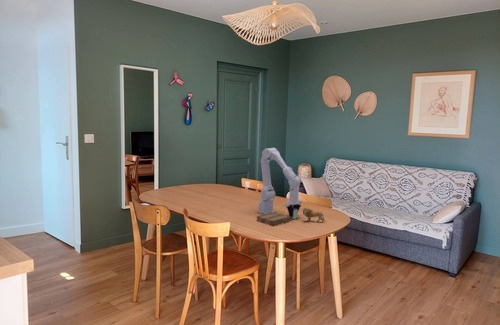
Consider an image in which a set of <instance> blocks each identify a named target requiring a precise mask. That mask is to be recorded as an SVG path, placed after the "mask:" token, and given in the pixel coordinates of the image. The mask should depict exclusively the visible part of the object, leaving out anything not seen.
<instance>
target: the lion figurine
mask: <svg viewBox="0 0 500 325" xmlns="http://www.w3.org/2000/svg"><path fill="white" fill-rule="evenodd" d="M302 214H303V215H304V216H305V217H306V218H307V222H308V223H311V221H312V220H311V219H312V218H317V217H318V220H316V222H320V221H321V222H320V223H321V224H324V222H326V220H325V219H324V214H323V212H322V211H313V210H312V209H310V208H309V207H304V208H303V209H302Z"/></svg>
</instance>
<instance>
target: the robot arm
mask: <svg viewBox="0 0 500 325" xmlns="http://www.w3.org/2000/svg"><path fill="white" fill-rule="evenodd" d="M272 160H273V161H275V162H276V163H277V164H278V166H280V168H281V169H282V173H283V175H284V177H285V178H286V179H287V180H288V185H289V200H288V201H287V202H285V203H284V206H285V207H286V209H287V212H288V216H290V217H292V216H293V211H294V208H295V209H298V212H299V210H300V208H301V207H302V204H303V201H302V200H300V199H299V195H300V194H299V192H300V184H301V182H302V179H301V178H300V176H297V175H296V173H295V172H294V171H293V168H292V167H291V166H288V165H287V164H286V162H285V161H284V158H282V156H281V154H280V151H279V150H278V149H277V148H276V147H270V148H265V149H263V150H262V151H261V157H260V166H261V177H262V185H263V186H262V188H261V192H260V198H261V199H260V200H259V202H258V211H257V213H259V214H262V215H265V214H269V213H273V212H274V199H275V197H276V191H275V189H274V187H273V186H272V178H271V170H270V162H271V161H272Z"/></svg>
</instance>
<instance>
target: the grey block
mask: <svg viewBox="0 0 500 325" xmlns="http://www.w3.org/2000/svg"><path fill="white" fill-rule="evenodd" d="M298 214H299V211H298V209H295V208H294V211H293V216H292V217H291V218H292V219H291V220H297V219H298V218H299V216H298ZM296 218H297V219H296Z"/></svg>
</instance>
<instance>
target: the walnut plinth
mask: <svg viewBox="0 0 500 325" xmlns="http://www.w3.org/2000/svg"><path fill="white" fill-rule="evenodd" d="M256 221H257V222H259V221H260V222H259V223H262V222H263V224H265V223H266V225H268V224H269V225H268V226H271V225H272V227H276V226H279V225H278V224H280V225H283V224H285V223H286V222H287V223H289V221H291V222H292V219H291V217H290V216H289V215H286V214H283V213H278V212H275V211H273V213H269V214H261V215H257V216H256ZM282 223H283V224H282ZM287 223H286V224H287ZM275 225H276V226H275Z"/></svg>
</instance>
